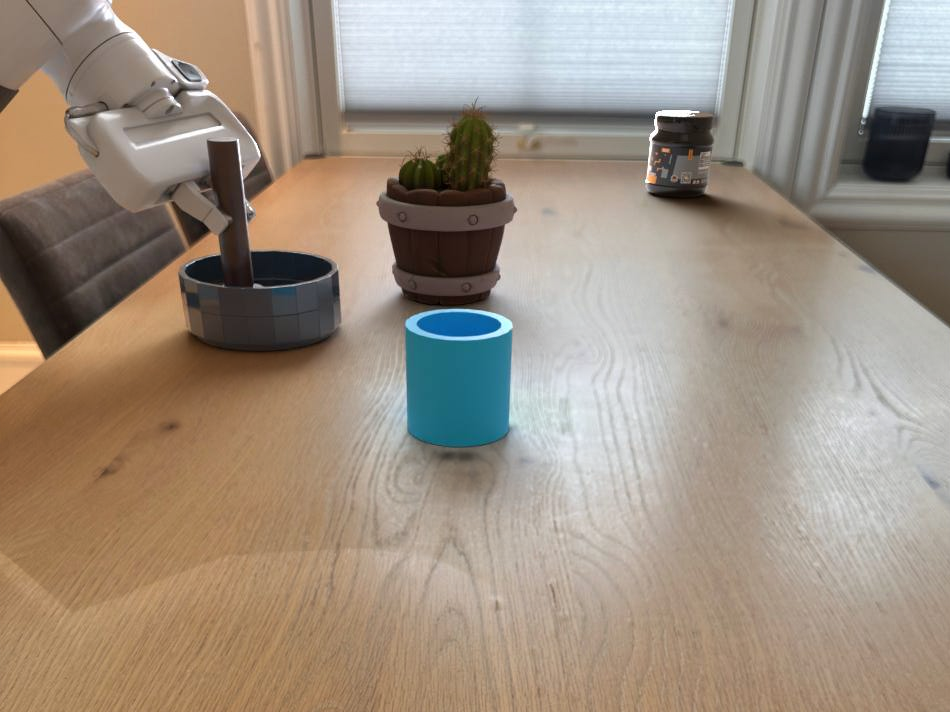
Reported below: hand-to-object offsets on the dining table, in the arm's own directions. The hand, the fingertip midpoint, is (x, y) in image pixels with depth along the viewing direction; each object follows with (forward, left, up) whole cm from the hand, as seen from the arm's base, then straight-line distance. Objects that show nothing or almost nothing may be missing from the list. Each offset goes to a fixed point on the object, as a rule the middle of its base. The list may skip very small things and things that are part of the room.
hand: (237, 225), depth 91 cm
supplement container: (-21, +99, -10) cm, 102 cm away
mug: (+29, 0, -10) cm, 31 cm away
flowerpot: (+1, +25, -10) cm, 27 cm away
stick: (0, 0, -8) cm, 8 cm away
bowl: (-1, +2, -10) cm, 11 cm away
